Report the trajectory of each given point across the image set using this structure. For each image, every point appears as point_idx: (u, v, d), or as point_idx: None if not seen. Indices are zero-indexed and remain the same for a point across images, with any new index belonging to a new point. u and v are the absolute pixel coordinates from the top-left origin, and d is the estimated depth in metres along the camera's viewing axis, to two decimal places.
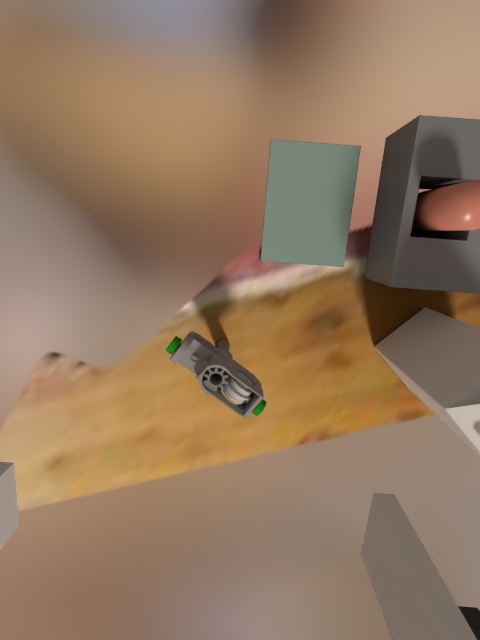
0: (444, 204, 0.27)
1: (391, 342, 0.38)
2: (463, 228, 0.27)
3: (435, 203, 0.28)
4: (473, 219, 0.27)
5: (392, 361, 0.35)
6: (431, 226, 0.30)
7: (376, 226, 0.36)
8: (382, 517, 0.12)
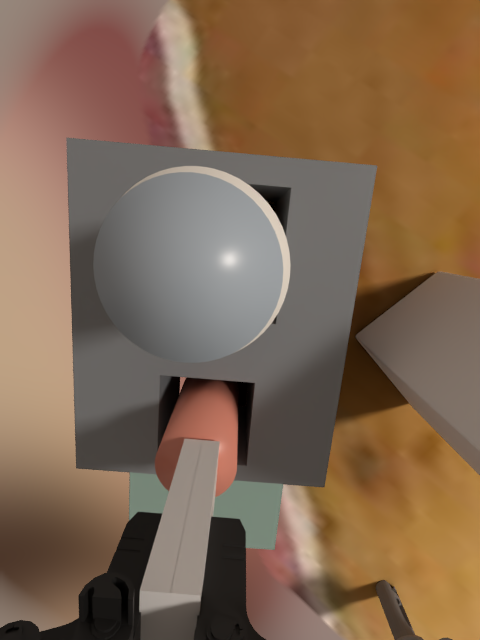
0: None
1: (410, 402, 0.24)
2: (233, 475, 0.16)
3: None
4: (219, 464, 0.15)
5: (448, 443, 0.21)
6: None
7: None
8: (198, 457, 0.14)
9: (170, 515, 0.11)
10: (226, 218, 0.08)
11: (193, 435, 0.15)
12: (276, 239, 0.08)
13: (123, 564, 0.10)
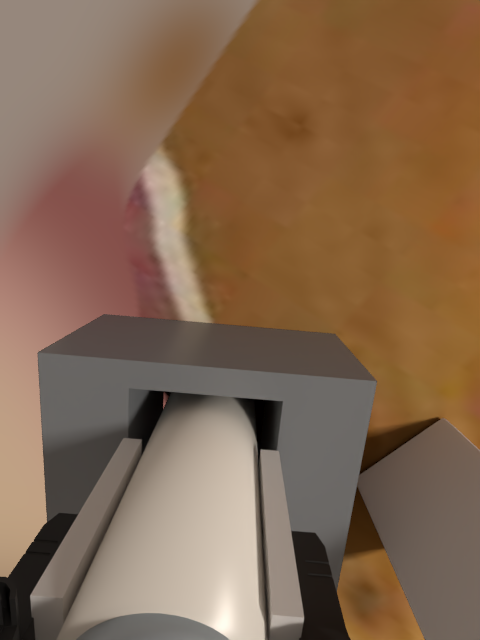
0: None
1: None
2: None
3: None
4: None
5: None
6: None
7: None
8: (261, 468, 0.14)
9: (85, 516, 0.11)
10: None
11: None
12: None
13: (28, 567, 0.10)
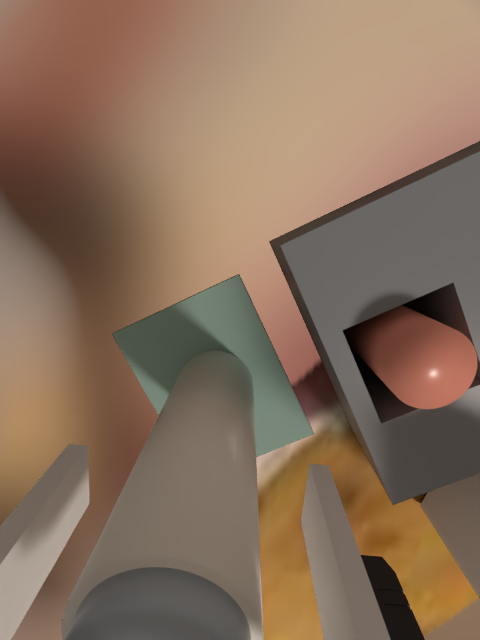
0: (383, 379, 0.15)
1: (444, 508, 0.23)
2: (435, 406, 0.15)
3: (369, 361, 0.17)
4: (444, 388, 0.14)
5: (461, 568, 0.21)
6: None
7: (326, 369, 0.22)
8: (313, 484, 0.13)
9: (6, 531, 0.10)
10: None
11: (466, 349, 0.14)
12: None
13: None
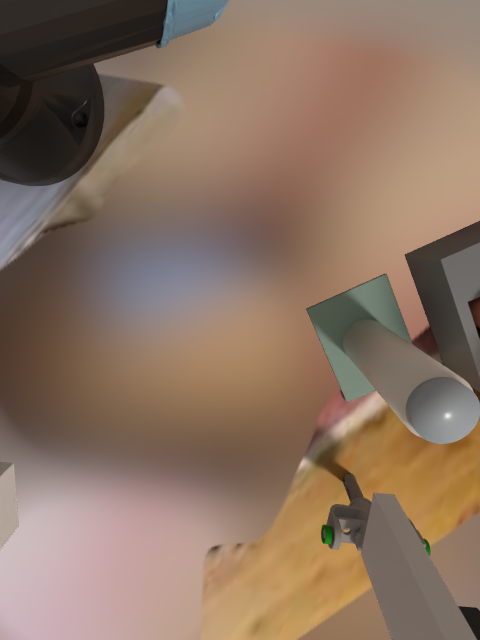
0: None
1: None
2: None
3: (476, 319, 0.32)
4: None
5: None
6: None
7: (435, 329, 0.37)
8: (383, 517, 0.12)
9: None
10: (462, 397, 0.23)
11: None
12: (479, 403, 0.23)
13: None
